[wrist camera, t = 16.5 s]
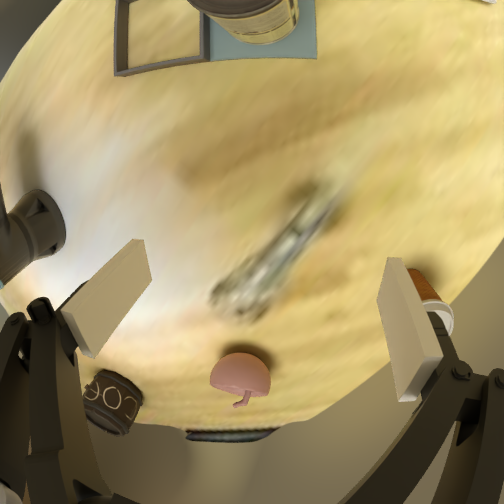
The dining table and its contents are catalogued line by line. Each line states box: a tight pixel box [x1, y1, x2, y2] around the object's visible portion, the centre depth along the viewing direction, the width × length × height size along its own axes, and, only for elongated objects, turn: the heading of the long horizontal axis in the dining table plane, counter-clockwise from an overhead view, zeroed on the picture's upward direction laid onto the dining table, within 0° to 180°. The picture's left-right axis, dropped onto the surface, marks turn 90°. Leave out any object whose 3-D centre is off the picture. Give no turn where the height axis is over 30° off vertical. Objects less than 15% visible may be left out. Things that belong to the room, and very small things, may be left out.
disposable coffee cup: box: [407, 269, 454, 336], centre depth 38 cm, size 10×10×12 cm
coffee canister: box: [82, 370, 143, 437], centre depth 71 cm, size 18×18×16 cm
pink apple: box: [210, 353, 271, 408], centre depth 53 cm, size 12×12×11 cm
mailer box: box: [114, 0, 317, 77], centre depth 28 cm, size 28×14×3 cm, turn 91°
